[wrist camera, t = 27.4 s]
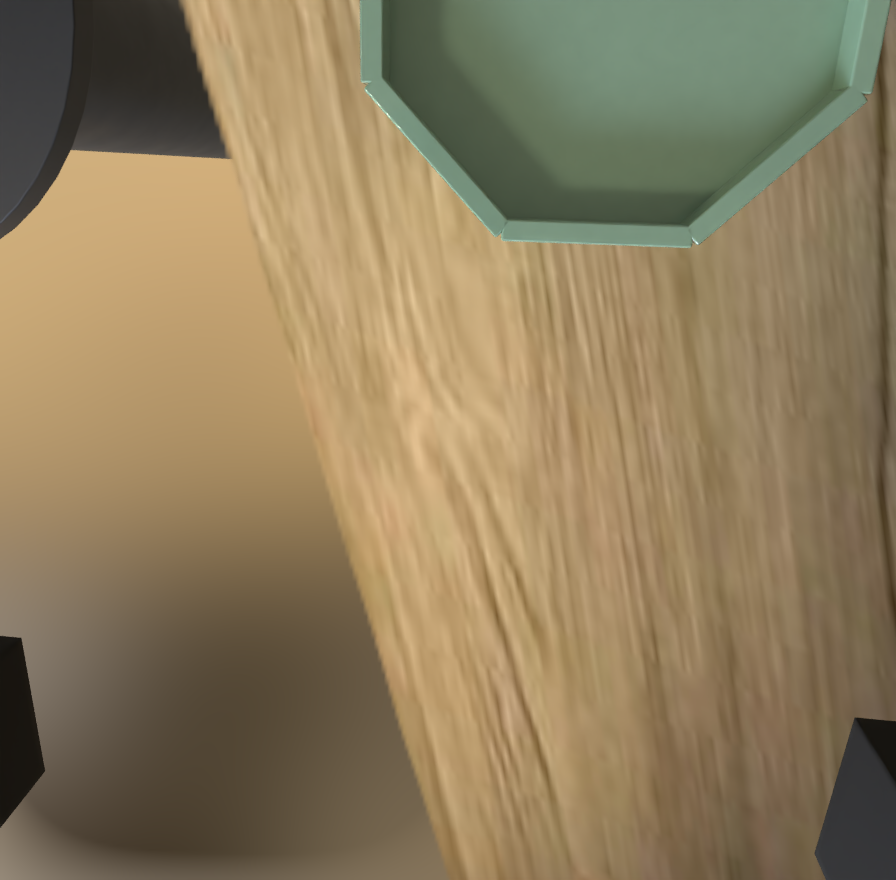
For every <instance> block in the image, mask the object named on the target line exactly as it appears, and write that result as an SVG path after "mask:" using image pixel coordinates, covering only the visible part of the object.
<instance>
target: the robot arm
mask: <svg viewBox="0 0 896 880" xmlns="http://www.w3.org/2000/svg"><path fill="white" fill-rule="evenodd" d="M44 772H45V768H44V763H43V757H42V752H41V746H40V741H39V735H38V729H37V723H36V718H35V712H34V707H33V701H32V695H31V690H30V684H29V679H28V673H27V667H26V662H25V656H24V650H23V645H22V639H21V638H16V637H6V636H0V827H1V826H2V825H3V824H4V823H5V821H6V820H7V819H8V817H9V816H10V815H11V813H12V812H13V811H14V810H15V809H16V807H17V806H18V805H19V803H20V802H21V801H22V800H23V798H24V797H25V796H26V795H27V793H28V792H29V791H30V790H31V788H32V787H33V786H34V784H35V783H36V782H37V781H38V779H39V778H40V777H41V776H42V774H43V773H44ZM815 856H816V858H817V860H818V862H819V865H820V867H821V869H822V872H823V874H824V876H825V878H826V880H896V721H885V720H875V719H864V718H854V722H853V725H852V729H851V732H850V735H849V739H848V742H847V745H846V749H845V752H844V756H843V759H842V762H841V766H840V769H839V773H838V776H837V779H836V783H835V786H834V789H833V793H832V796H831V800H830V803H829V806H828V810H827V813H826V816H825V820H824V823H823V827H822V830H821V833H820V837H819V840H818V844H817V847H816V850H815Z"/></svg>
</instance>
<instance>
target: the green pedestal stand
mask: <svg viewBox="0 0 896 880" xmlns="http://www.w3.org/2000/svg"><path fill="white" fill-rule="evenodd" d="M890 5H891V0H360V68H361V82H362V83H364V84H365V85H367V86H366V87H365V91H366V93H367V94H368V95H369V96H370V97H371V98H372V99H373V100H374V102H375V103H376V104H377V105H378V106H379V107H380V108H381V110H382V111H383V112H384V113H385V114H386V115H387V116H388V117H389V119H390V120H391V121H392V122H393V123H394V124H395V125H396V126H397V128H398V129H399V130H400V131H401V132H402V133H403V134H404V135H405V137H406V138H407V139H408V140H409V141H410V142H411V143H412V144H413V146H414V147H415V148H416V149H417V150H418V151H419V152H420V154H421V155H422V156H423V157H424V158H425V159H426V160H427V161H428V163H429V164H430V165H431V166H432V167H433V168H434V169H435V170H436V172H437V173H438V174H439V175H440V176H441V177H442V178H443V179H444V181H445V182H446V183H447V184H448V185H449V186H450V187H451V188H452V190H453V191H454V192H455V193H456V194H457V195H458V196H459V197H460V199H461V200H462V201H463V202H464V203H465V204H466V205H467V207H468V208H469V209H470V210H471V211H472V212H473V213H474V214H475V216H476V217H477V218H478V219H479V220H480V221H481V222H482V223H483V225H484V226H485V227H486V228H487V229H488V230H489V231H490V232H491V234H492V235H493V236H494V237H497V236H498V235H499V234H501V239H502V240H503V241H515V242H542V243H569V244H596V245H622V246H649V247H676V248H690V247H691V246H692V243H694V244H697V245H699V244H701V243H702V242H703V241H704V240H705V239H706V238H708V237H709V236H710V235H711V234H712V233H713V232H715V231H716V230H717V229H718V228H719V227H721V226H722V225H723V224H724V223H725V222H726V221H728V220H729V219H730V218H731V217H732V216H733V215H735V214H736V213H737V212H738V211H739V210H740V209H742V208H743V207H744V206H745V205H746V204H748V203H749V202H750V201H751V200H752V199H753V198H755V197H756V196H757V195H758V194H759V193H760V192H762V191H763V190H764V189H765V188H766V187H768V186H769V185H770V184H771V183H772V182H773V181H775V180H776V179H777V178H778V177H779V176H780V175H782V174H783V173H784V172H785V171H786V170H787V169H789V168H790V167H791V166H792V165H793V164H795V163H796V162H797V161H798V160H799V159H800V158H802V157H803V156H804V155H805V154H806V153H807V152H809V151H810V150H811V149H812V148H813V147H814V146H816V145H817V144H818V143H819V142H820V141H822V140H823V139H824V138H825V137H826V136H827V135H829V134H830V133H831V132H832V131H833V130H834V129H836V128H837V127H838V126H839V125H840V124H842V123H843V122H844V121H845V120H846V119H847V118H849V117H850V116H851V115H852V114H853V113H854V112H856V111H857V110H858V109H859V108H860V107H861V106H863V105H864V104H865V103H866V102H867V99H866V97H865V96H864V95H868V94H871V93H872V92H873V87H874V82H875V77H876V73H877V68H878V63H879V58H880V53H881V48H882V43H883V39H884V34H885V29H886V24H887V19H888V14H889V9H890Z"/></svg>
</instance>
